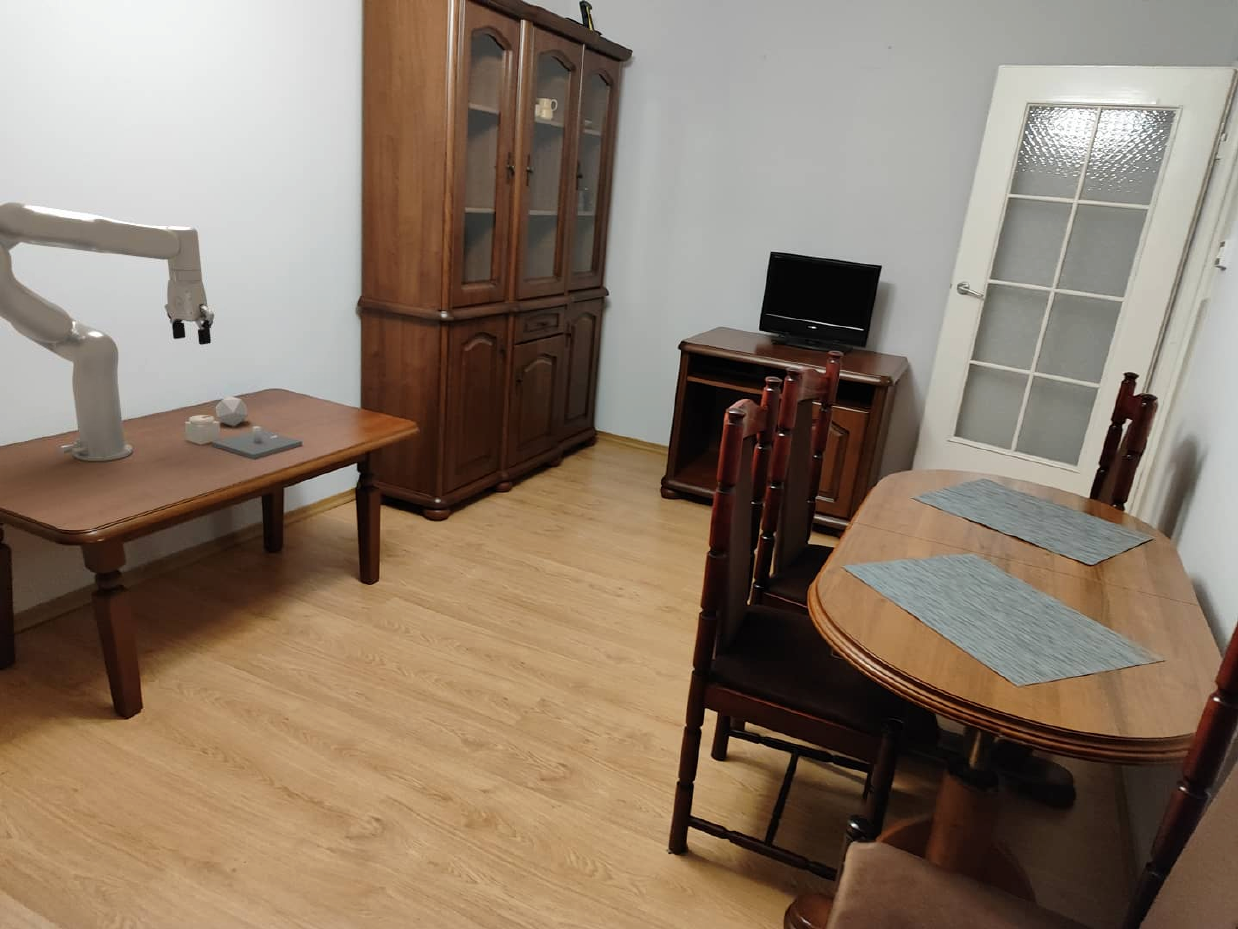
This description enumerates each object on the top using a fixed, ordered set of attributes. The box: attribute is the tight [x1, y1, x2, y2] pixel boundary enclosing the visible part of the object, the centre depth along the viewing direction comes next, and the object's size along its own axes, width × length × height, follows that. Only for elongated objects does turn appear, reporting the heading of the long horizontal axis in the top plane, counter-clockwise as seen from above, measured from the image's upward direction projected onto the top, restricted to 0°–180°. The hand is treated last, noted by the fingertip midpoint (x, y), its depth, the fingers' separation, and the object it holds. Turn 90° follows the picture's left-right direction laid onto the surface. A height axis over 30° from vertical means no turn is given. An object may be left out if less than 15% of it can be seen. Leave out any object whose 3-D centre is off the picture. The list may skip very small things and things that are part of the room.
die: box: [215, 395, 249, 427], centre depth 238 cm, size 8×9×10 cm
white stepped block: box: [184, 414, 221, 446], centre depth 222 cm, size 6×6×6 cm
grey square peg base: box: [211, 426, 303, 460], centre depth 222 cm, size 16×16×5 cm
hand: (192, 340), depth 217 cm, fingers open, 9 cm apart
